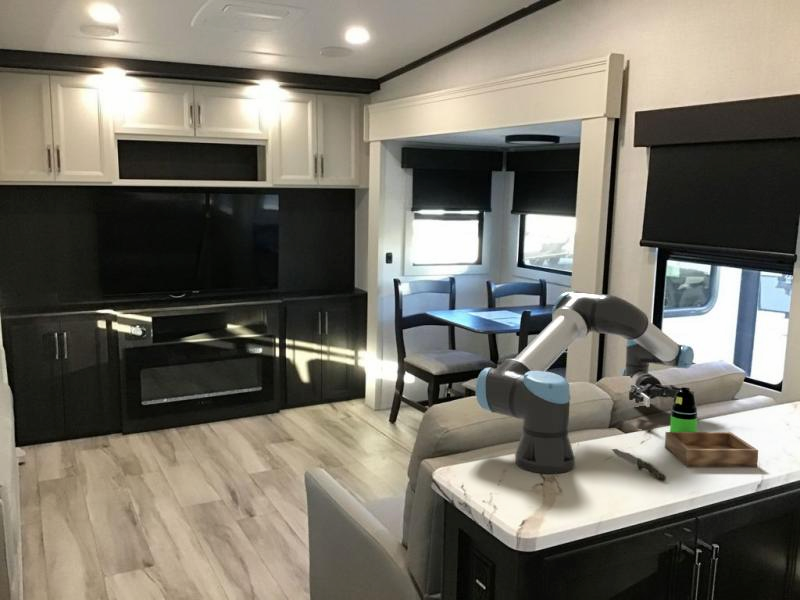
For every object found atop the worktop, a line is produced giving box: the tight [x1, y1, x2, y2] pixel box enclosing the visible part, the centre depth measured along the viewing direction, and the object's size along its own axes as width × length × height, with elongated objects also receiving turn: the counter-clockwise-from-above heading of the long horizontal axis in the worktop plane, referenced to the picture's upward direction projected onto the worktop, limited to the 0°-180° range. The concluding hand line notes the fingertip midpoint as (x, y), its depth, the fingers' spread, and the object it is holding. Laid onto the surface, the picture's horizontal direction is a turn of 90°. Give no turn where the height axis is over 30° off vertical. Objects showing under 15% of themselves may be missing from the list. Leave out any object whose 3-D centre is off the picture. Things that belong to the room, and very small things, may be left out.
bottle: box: [669, 386, 698, 432], centre depth 199 cm, size 7×7×15 cm
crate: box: [664, 431, 759, 468], centre depth 185 cm, size 18×15×4 cm
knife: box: [611, 448, 667, 481], centre depth 177 cm, size 20×1×3 cm, turn 21°
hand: (671, 402), depth 209 cm, fingers open, 13 cm apart
